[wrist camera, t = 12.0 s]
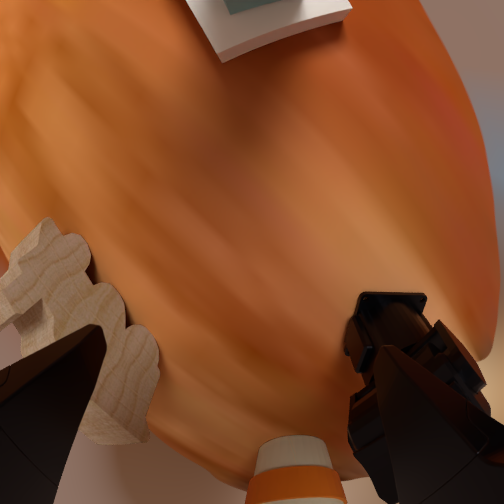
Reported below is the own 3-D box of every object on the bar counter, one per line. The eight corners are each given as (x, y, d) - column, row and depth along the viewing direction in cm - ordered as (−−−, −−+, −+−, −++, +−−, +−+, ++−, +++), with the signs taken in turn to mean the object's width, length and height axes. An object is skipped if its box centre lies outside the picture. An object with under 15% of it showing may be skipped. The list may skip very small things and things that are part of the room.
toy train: (66, 206, 20) (-20, 254, 11) (175, 361, 26) (146, 448, 17) (33, 237, 22) (-40, 287, 12) (134, 374, 27) (101, 450, 18)
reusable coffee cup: (288, 475, 35) (291, 556, 22) (225, 451, 32) (214, 548, 19) (357, 444, 32) (375, 537, 18) (296, 415, 29) (305, 538, 15)
